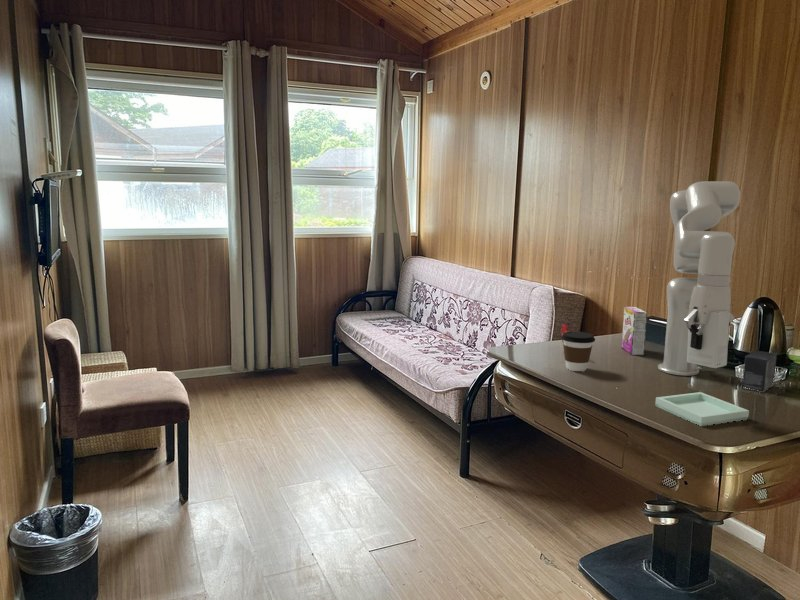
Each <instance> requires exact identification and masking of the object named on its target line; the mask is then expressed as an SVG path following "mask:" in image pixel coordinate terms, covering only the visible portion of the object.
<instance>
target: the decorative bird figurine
mask: <svg viewBox="0 0 800 600" xmlns="http://www.w3.org/2000/svg"><path fill="white" fill-rule="evenodd" d="M560 331H561V333H560V334H561V335H560V336H562V335H563V333H565V332H571V331H570V330H569V327H568V325H567V324H565V323H563V324H561V328H560ZM561 342H562V345H563V344H564V342H563V339H561Z"/></svg>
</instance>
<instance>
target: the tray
mask: <svg viewBox="0 0 800 600" xmlns="http://www.w3.org/2000/svg"><path fill="white" fill-rule="evenodd" d="M654 407H657V408H659V409H660V410H662V411H663V410H664V411H665V412H667V413H669V414H671V415H674V416H676V417H678V418H680V417H681V419H682V420H685V421H687V420H688V422H689V421H690V423H692V424H693V425H696V424H697V426H698V425H699V426H698V427H700V426H701V427H707V425H708V426H713V424H715V425H721V423H722V424H727V422H729V423H733V421H736V422H740V421H741V420H743V421H747V419H748V420H749V415H750V410H748V409H746V408H743V407H741V406H738V405H737V404H733V403H730V402H728V401H725V400H723V399H720V398H717V397H715V396H712V395H709V394H708V393H707V394H706V393H704V392H701V391H698V392H691V393H683V394H682V393H681V394H674V395H667V396H666V395H665V396H657V397H655V404H654Z"/></svg>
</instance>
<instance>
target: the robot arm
mask: <svg viewBox="0 0 800 600" xmlns="http://www.w3.org/2000/svg"><path fill="white" fill-rule="evenodd" d="M669 199H670V200H669V213H670V217H671V221H672V224H673V228H674V243H673V244H674V246H673V268H674V270H675V271H676V272H677V273H681V274H687V275H688V274H689V275H690V274H691V275H697V277H675V278H672V279H671V280H669V282H668V283H667V285H666V300H667V301H666V302H667V317H666V329H665V330H666V331H665V338H664V340H665V341H664V351H663V352H664V353H663V362H661V363H659V364H657V369H658V371H661V372H662V373H666V374H670V375H675V376H683V377H684V376H685V377H686V376H687V377H688V376H690V377H691V376H696V375H698V374H699V373H700V370H699V368H698V366H699V365H698V364H694V363H689V362H687V348H688V329H689V330H690V333H692V334H691V344H690V347H691V348H695V349H698V350H701V349H702V339H703V335H701V332H702V330H703V328H704V326H705V325H707V324H708V322H709V319H710V314H711V312H717V311H730V314H729V327H730V326H731V324H732V322H734V320H735V316H734V315H733V313H732V312H731V306H732V296H731V286H730V283H731V278H732V277H731V274H732V273H731V272H732V264H733V263H732V262H733V253H734V251H735V248H736V241H735V238H734V237H733V235H732V234H731V233H730V232H727V231H713V230H712V231H711V230H709V229H711V228H714V227H715V226H716V225H718V224H719V223H720V221H721V220H722V218H725V217H728V216H729V215H730V214H731V213H733V212H734V211H735V210H736V209H737V208H738V207H739V205H740V200H741V190H740V188H739V186H738V184H737V183H735V182H733V181H726V180H725V181H722V180H721V181H720V180H719V181H718V180H717V181H716V180H715V181H713V180H712V181H709V180H707V181H705V180H704V181H697V182H694V183H692V184H690V185H689V186H688V187H687V188H686V189H684V190H683V189H682V190H677V191H675V192H673V194H672V195H671V196H670V198H669ZM697 319H699V322H697ZM693 320H694V322H693ZM697 325H699V327H698V328H697Z"/></svg>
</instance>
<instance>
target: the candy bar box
mask: <svg viewBox="0 0 800 600" xmlns="http://www.w3.org/2000/svg"><path fill="white" fill-rule="evenodd" d="M622 321H623V322H622V323H623V324H622V334H621V335H622V336H621V337H622V339H621V349H623V350H624V351H626V352H627V353H629V354H630V355H631V356H644V355H645V346H646V332H647V321H648V312H646V311H645V310H643V309H641V308H639V307H637V306H624V307H623V318H622Z"/></svg>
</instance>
